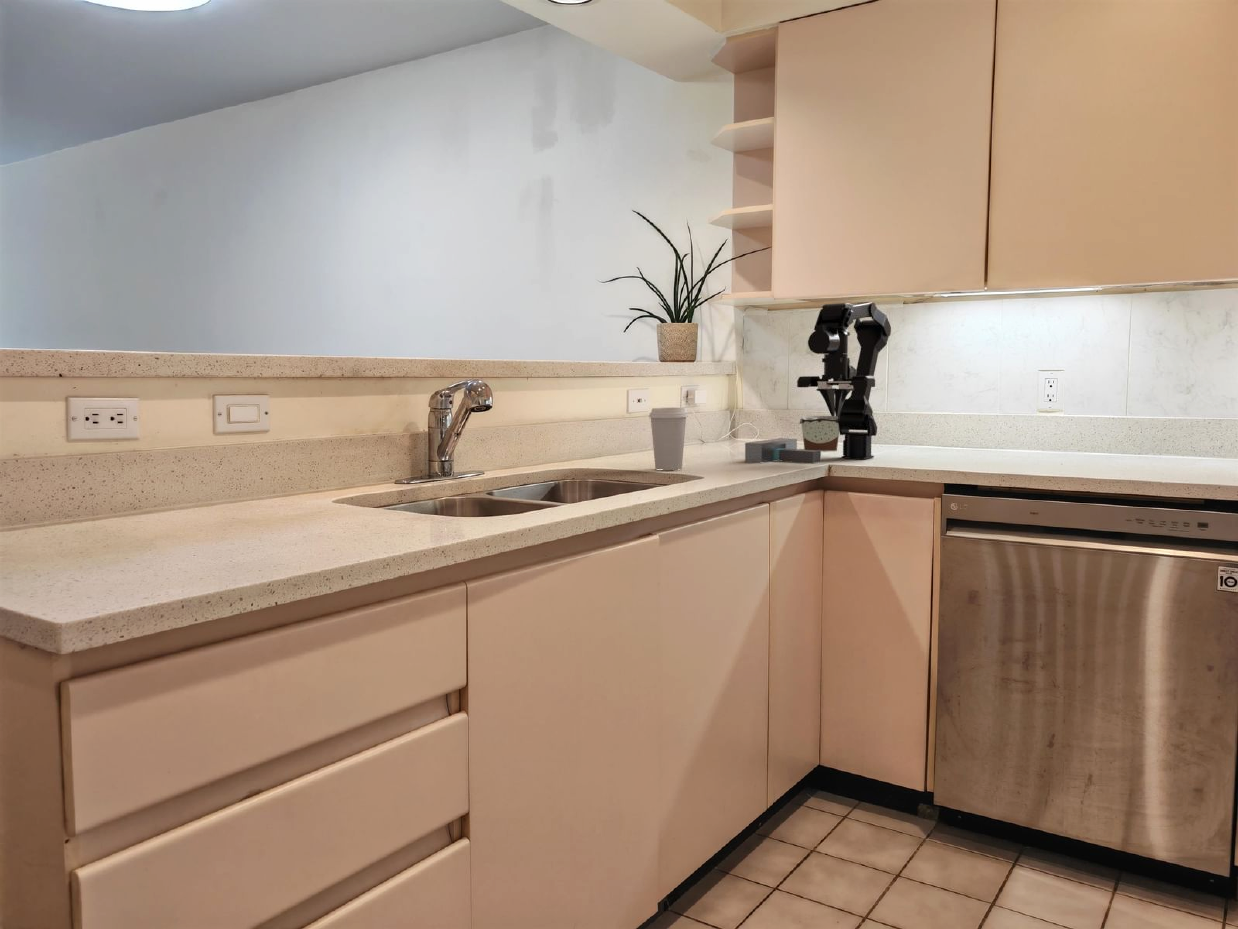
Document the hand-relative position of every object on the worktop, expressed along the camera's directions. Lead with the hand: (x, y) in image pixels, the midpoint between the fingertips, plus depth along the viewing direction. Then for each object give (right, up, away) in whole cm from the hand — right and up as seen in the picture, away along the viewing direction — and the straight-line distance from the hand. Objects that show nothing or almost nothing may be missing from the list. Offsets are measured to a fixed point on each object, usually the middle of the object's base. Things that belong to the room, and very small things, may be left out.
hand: (835, 416), depth 229 cm
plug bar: (-9, -11, +9) cm, 17 cm away
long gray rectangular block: (-14, -11, +13) cm, 22 cm away
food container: (+4, -8, +38) cm, 39 cm away
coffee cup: (-42, -14, -7) cm, 45 cm away
